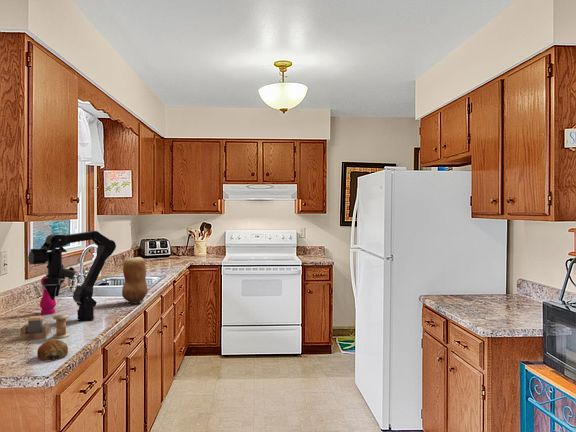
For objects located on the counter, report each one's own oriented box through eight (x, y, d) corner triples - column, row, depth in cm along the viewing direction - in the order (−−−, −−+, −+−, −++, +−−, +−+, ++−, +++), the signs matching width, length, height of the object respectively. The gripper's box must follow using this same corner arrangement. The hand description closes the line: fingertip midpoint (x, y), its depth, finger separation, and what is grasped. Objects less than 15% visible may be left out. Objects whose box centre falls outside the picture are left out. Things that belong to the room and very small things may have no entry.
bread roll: (70, 364, 184) (74, 341, 187) (59, 359, 174) (63, 336, 178) (42, 364, 183) (46, 341, 187) (30, 360, 174) (34, 336, 177)
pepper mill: (51, 311, 256) (51, 271, 256) (58, 313, 252) (58, 272, 251) (37, 313, 251) (36, 272, 250) (44, 315, 246) (43, 274, 246)
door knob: (70, 334, 211) (70, 313, 211) (67, 337, 205) (67, 317, 205) (54, 335, 210) (54, 314, 209) (51, 338, 204) (51, 317, 204)
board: (51, 331, 215) (50, 321, 215) (45, 338, 205) (45, 327, 205) (27, 332, 213) (27, 322, 213) (20, 339, 202) (20, 328, 202)
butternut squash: (118, 302, 279) (118, 256, 279) (142, 299, 287) (142, 255, 287) (127, 306, 268) (127, 259, 268) (152, 303, 276) (152, 257, 276)
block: (30, 331, 208) (30, 316, 208) (42, 330, 209) (42, 315, 209) (28, 333, 205) (28, 318, 205) (40, 332, 206) (40, 317, 206)
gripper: (71, 264, 220) (71, 301, 220) (77, 260, 238) (77, 293, 238) (42, 265, 217) (43, 302, 217) (51, 260, 235) (51, 294, 235)
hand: (55, 298), depth 227 cm, fingers open, 9 cm apart
